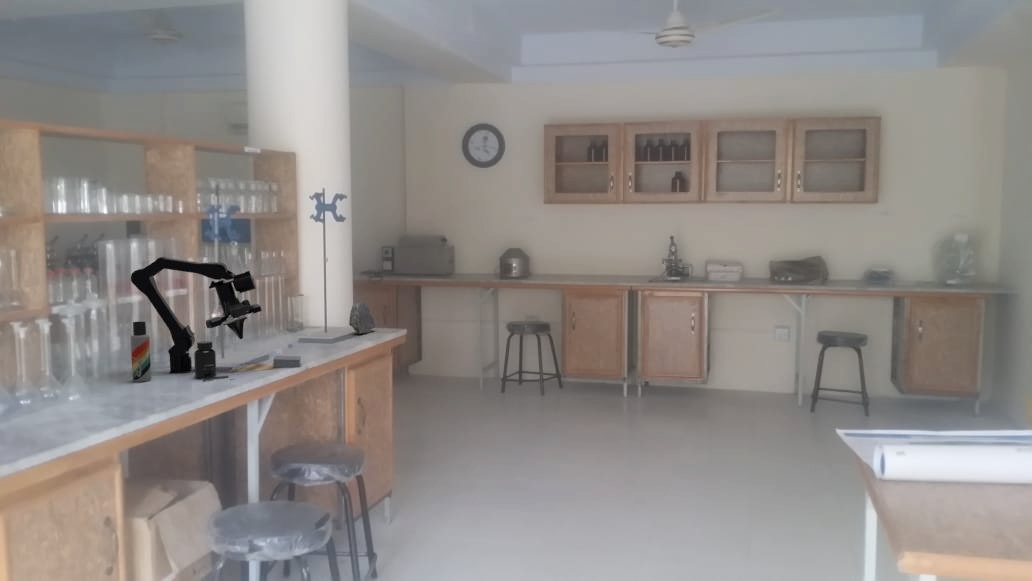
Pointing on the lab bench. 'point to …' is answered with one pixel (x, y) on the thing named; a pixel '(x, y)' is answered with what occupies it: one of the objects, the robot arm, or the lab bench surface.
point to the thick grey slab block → (286, 361)
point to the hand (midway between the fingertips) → (241, 338)
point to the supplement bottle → (205, 360)
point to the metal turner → (214, 378)
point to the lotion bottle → (140, 353)
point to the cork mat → (256, 367)
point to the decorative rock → (361, 318)
